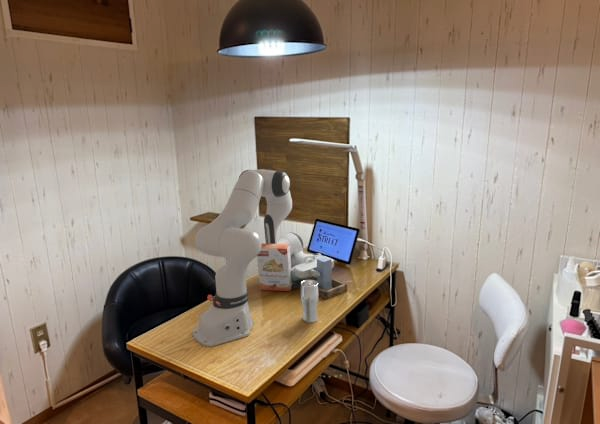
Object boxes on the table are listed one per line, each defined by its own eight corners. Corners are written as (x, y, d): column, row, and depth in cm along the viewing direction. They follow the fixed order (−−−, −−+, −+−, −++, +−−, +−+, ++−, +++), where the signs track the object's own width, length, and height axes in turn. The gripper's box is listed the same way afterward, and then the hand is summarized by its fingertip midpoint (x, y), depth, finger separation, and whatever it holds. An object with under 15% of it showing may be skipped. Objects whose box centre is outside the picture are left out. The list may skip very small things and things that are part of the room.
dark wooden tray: (326, 299, 176) (326, 292, 175) (304, 287, 187) (303, 281, 186) (347, 290, 183) (347, 284, 182) (324, 280, 195) (324, 274, 194)
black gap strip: (293, 289, 186) (293, 288, 186) (286, 286, 190) (286, 285, 189) (319, 279, 195) (319, 278, 195) (312, 276, 199) (312, 275, 199)
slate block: (324, 291, 182) (323, 262, 179) (317, 288, 186) (316, 259, 182) (331, 288, 185) (331, 259, 181) (324, 285, 188) (324, 256, 185)
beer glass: (307, 325, 155) (306, 288, 152) (297, 317, 161) (296, 282, 157) (322, 319, 159) (322, 283, 155) (312, 312, 165) (311, 277, 161)
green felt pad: (293, 281, 194) (293, 280, 194) (280, 274, 202) (280, 273, 202) (311, 275, 201) (311, 274, 200) (297, 268, 209) (297, 267, 209)
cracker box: (259, 290, 186) (255, 248, 179) (263, 284, 191) (259, 242, 185) (290, 292, 183) (287, 248, 177) (292, 285, 189) (289, 243, 182)
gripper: (287, 263, 186) (307, 271, 176) (321, 252, 198) (341, 260, 188) (288, 276, 188) (307, 285, 177) (321, 264, 200) (341, 272, 189)
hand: (325, 272), depth 183 cm, fingers closed on slate block, 5 cm apart
